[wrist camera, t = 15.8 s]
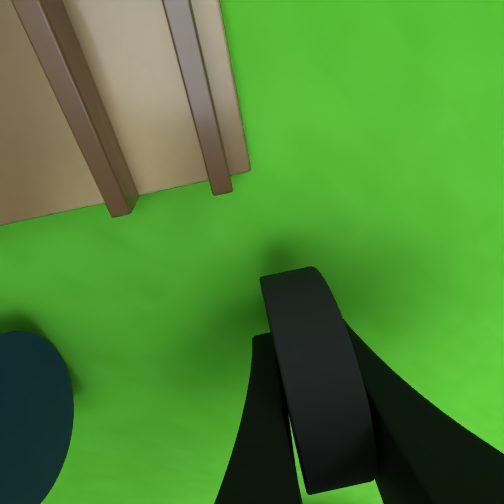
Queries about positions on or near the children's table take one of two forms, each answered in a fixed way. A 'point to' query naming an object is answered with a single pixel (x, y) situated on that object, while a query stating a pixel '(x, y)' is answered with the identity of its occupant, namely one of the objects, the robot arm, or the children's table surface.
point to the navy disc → (32, 417)
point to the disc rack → (113, 103)
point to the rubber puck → (320, 381)
